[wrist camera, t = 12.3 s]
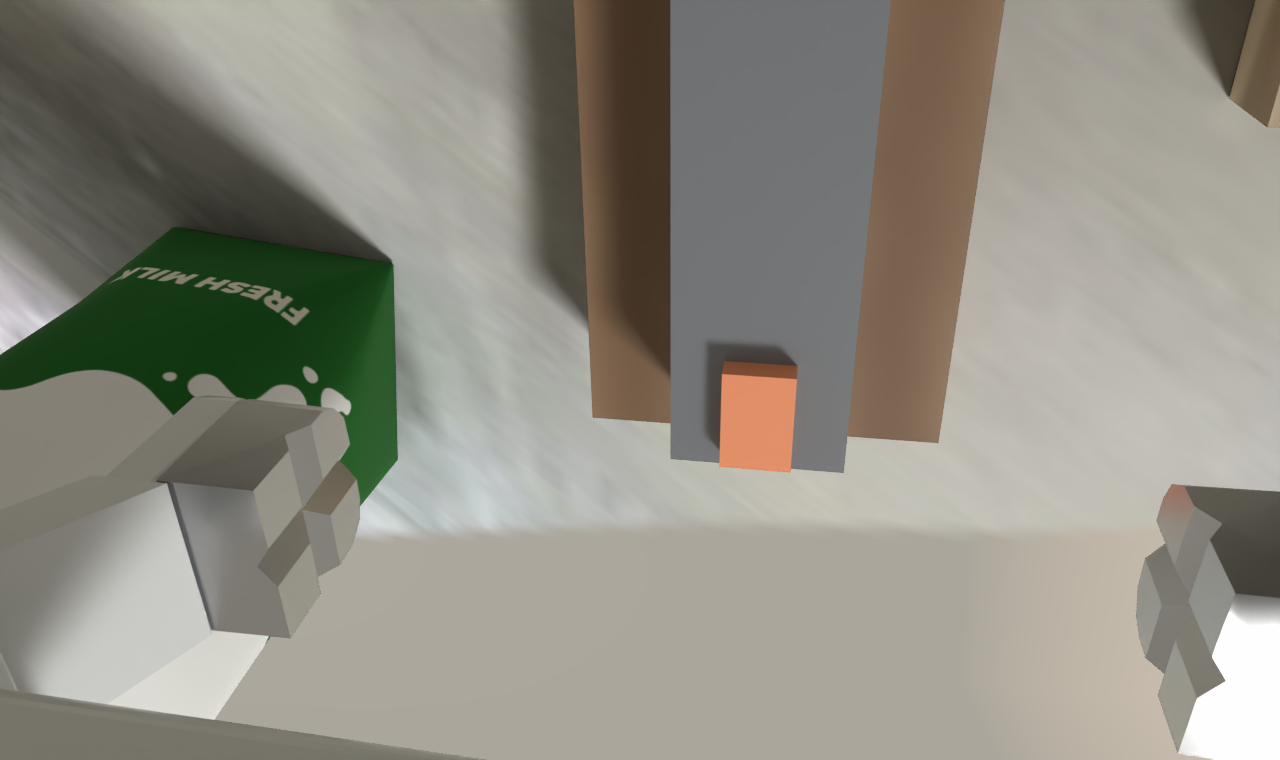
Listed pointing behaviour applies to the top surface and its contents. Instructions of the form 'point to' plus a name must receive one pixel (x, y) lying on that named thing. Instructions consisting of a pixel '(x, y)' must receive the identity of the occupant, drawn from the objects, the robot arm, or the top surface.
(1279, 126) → the block
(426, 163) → the top surface
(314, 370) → the milk carton
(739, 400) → the grey bar
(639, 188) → the keyhole board
